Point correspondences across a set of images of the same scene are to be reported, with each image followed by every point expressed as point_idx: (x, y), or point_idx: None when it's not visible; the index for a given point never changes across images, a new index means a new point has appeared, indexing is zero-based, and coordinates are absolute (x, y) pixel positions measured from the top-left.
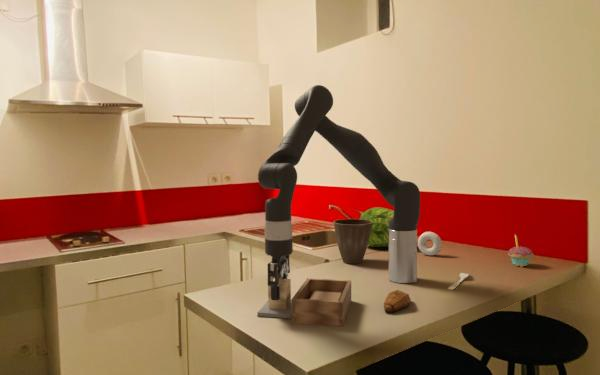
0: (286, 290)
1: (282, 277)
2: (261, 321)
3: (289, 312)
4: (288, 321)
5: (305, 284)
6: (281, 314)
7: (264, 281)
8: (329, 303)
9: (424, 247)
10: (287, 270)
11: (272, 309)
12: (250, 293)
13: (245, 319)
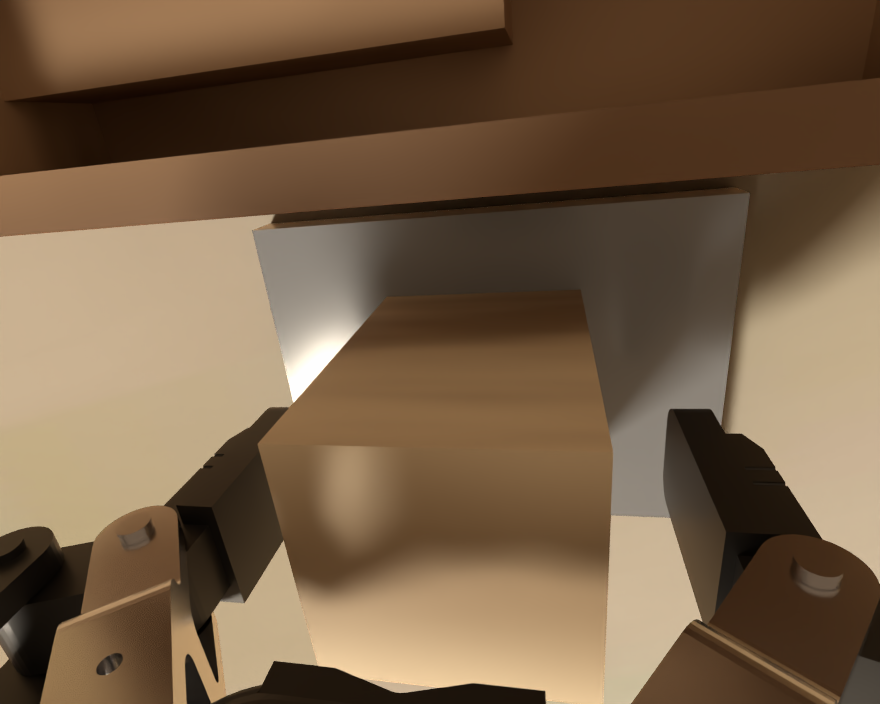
0: (568, 384)
1: (689, 628)
2: (840, 436)
3: (673, 228)
4: (835, 181)
5: (140, 174)
6: (736, 297)
7: None
8: None
9: None
10: (169, 622)
11: None
12: (220, 633)
13: None
